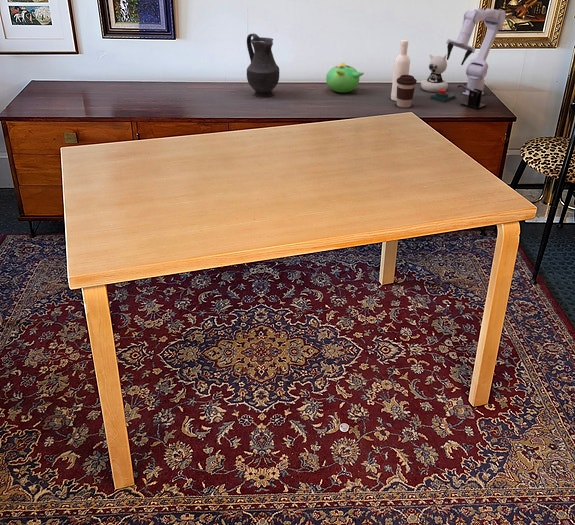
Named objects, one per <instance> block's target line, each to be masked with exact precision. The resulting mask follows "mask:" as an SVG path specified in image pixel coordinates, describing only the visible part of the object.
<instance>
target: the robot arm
mask: <svg viewBox="0 0 575 525" xmlns="http://www.w3.org/2000/svg"><path fill="white" fill-rule="evenodd" d="M506 16H507V14H506V11H505V10H502V9H501V10H500V9H494V8H490V7H489V8H485V9H483V8H482V7H479V8H478V9H476V8H475V9H473V10H467V11H466V12H464V14H463V20H462V22H461V23H462V26H461V29H460V31H459V33H458V37H457V39H456V40H453V39H450V38H447V40H446V42H445V44H447V45H446V46H447V47H446V48H447V55H446V59H445V60H446V61H449V59H450V56H451V53H452V51H453V49H454V47H455V48H459V49H462V50H465V54H464V57H463V59H462V60H461V64H460V65H461V66H463V65H464V63H465V62H466V60H467V59H468V58H469V56H470V55H471V54H474V53H475V52H476V47H473V46H471V45H469V42H470V40H471V37H472V35H473V32H474V29H475V26H476V25H478V24H479V23H480V22H483V23H484V26H485V27H486V28H487V31H486V33H485V36H484V38H483V40H482V43H481V46H480V48H479V51H478V53H477V55H476V57H475V58H473V59H471V60H470V62H469V63H468V65H467V66H466V68H465V74H466V76H467V84H466V87H468V88H469V89H471V90H473V91H474V89H479V90H483V91H482V95H485V92H484V88H485V84H486V83H485V77H486V76H487V74H488V71H489V63H488V62H487V58H488V57H489V53H490V51H491V48H492V47H493V44H494V42H495V39H496V37H497V34H498V32H499V30H501V29H502V27H503V26H504V24H505V20H506ZM462 95H465V96H469V91H467V90H466V89H465V91H464V92H462Z"/></svg>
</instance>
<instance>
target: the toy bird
mask: <svg viewBox="0 0 575 525" xmlns="http://www.w3.org/2000/svg"><path fill="white" fill-rule="evenodd" d="M363 75H365V72H364V71H358V70H357V69H356V68H355V67H353V66H351V65H347V64H346V63H345V62H341V63H340V64H339V65H335V66H333V67H332V68H331V69H329V70H328V72H327V73H326V76H325V77H326V78H325V82H326V84H327V87H328V88H329V89H330V90H332V91H333V92H336V93H348V92H351V91H354V90H355V89H356V88H357V87H358V85H359V84H360V80H361V78H360V77H362V76H363Z"/></svg>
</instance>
